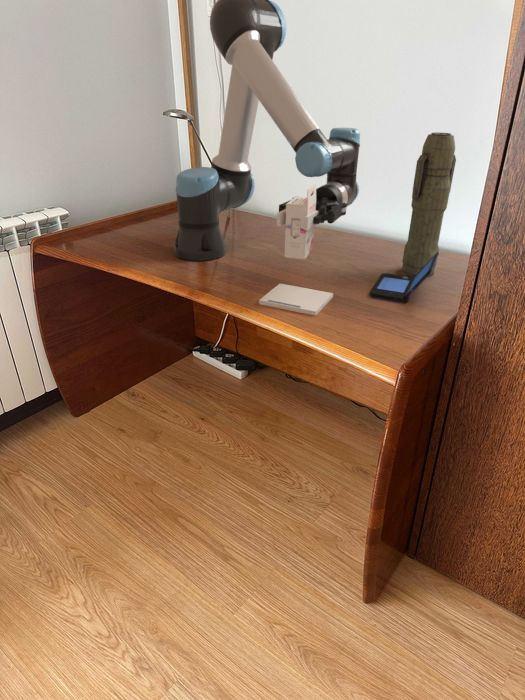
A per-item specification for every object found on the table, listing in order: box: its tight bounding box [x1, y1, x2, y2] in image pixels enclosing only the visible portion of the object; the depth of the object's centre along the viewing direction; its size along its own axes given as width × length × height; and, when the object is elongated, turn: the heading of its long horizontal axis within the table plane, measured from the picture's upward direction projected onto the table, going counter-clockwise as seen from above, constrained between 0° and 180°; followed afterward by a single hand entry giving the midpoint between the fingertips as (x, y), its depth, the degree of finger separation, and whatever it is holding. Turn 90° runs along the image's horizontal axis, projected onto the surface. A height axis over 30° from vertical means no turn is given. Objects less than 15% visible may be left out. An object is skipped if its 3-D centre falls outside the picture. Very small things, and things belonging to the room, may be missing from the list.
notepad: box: [258, 283, 334, 316], centre depth 119 cm, size 14×12×1 cm
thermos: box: [401, 132, 457, 278], centre depth 130 cm, size 9×12×35 cm
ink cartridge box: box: [284, 183, 317, 260], centre depth 110 cm, size 9×5×15 cm, turn 163°
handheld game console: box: [369, 252, 440, 304], centre depth 124 cm, size 16×13×9 cm
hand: (292, 221), depth 106 cm, fingers closed on ink cartridge box, 6 cm apart
